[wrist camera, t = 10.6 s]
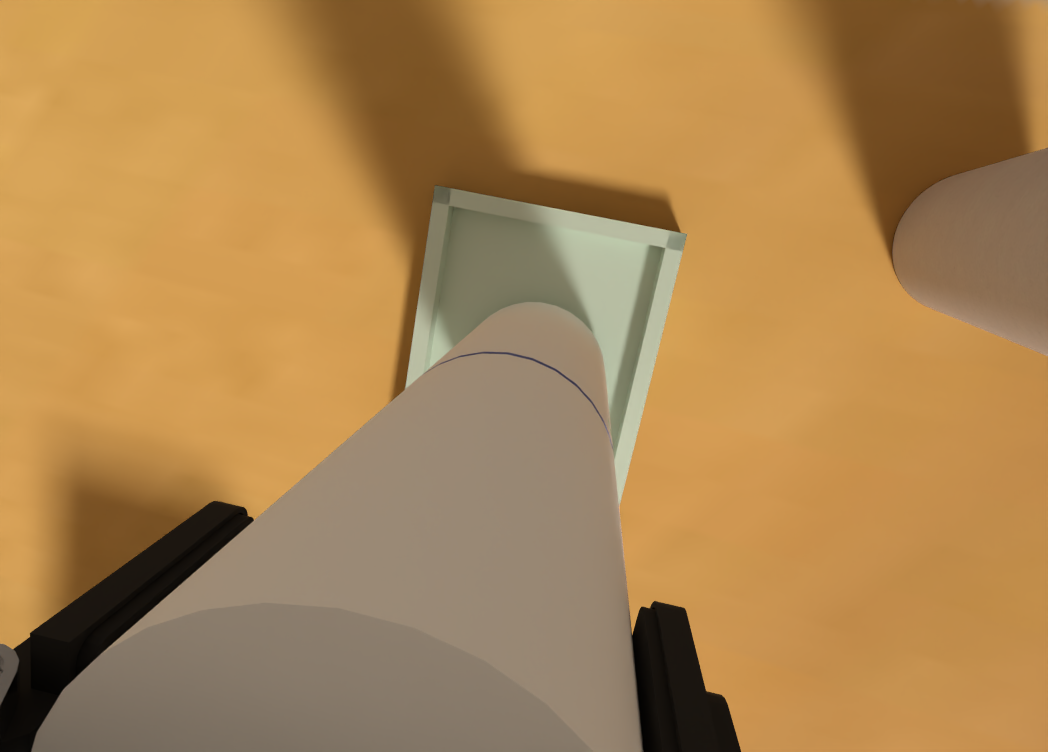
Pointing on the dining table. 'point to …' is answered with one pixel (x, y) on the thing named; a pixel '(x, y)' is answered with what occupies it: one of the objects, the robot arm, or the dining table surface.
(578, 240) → the tray
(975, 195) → the coffee cup
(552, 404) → the cylindrical container
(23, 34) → the dining table surface
